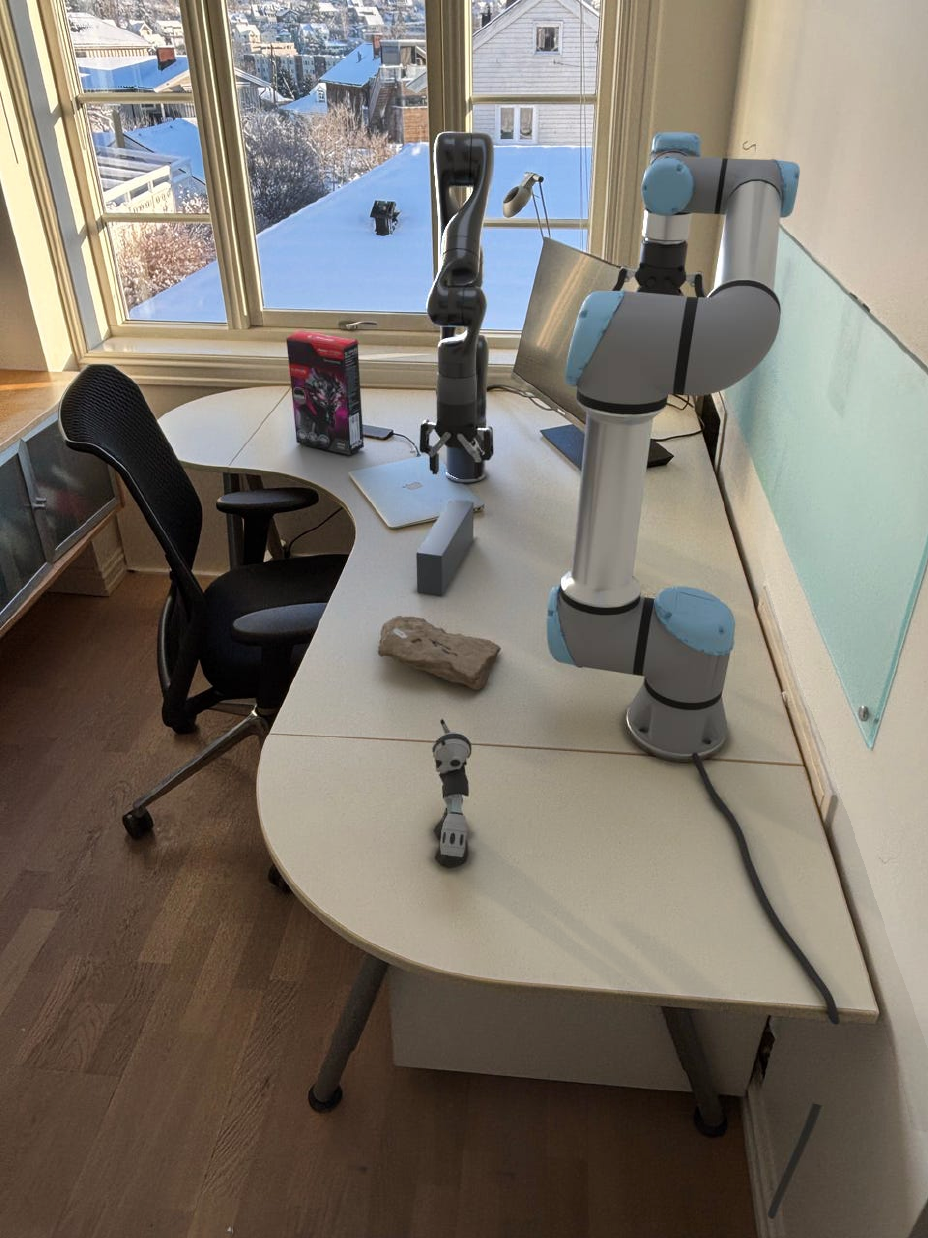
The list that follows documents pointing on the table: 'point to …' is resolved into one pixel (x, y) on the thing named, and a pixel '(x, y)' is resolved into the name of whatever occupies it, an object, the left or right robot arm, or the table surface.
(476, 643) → the stone
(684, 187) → the right robot arm
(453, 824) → the robot
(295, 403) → the graphics card box
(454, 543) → the bar
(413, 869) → the table surface
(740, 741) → the table surface
